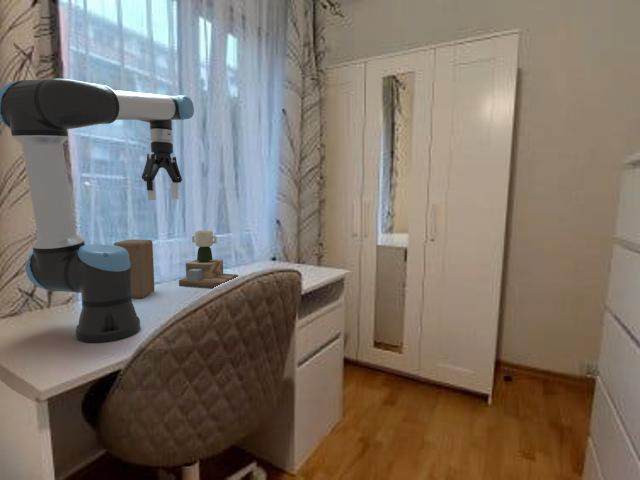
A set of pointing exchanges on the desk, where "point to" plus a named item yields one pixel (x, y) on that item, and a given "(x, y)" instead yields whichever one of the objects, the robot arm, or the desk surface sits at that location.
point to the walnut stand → (207, 274)
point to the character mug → (204, 244)
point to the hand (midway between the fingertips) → (164, 199)
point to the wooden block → (140, 266)
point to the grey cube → (195, 274)
